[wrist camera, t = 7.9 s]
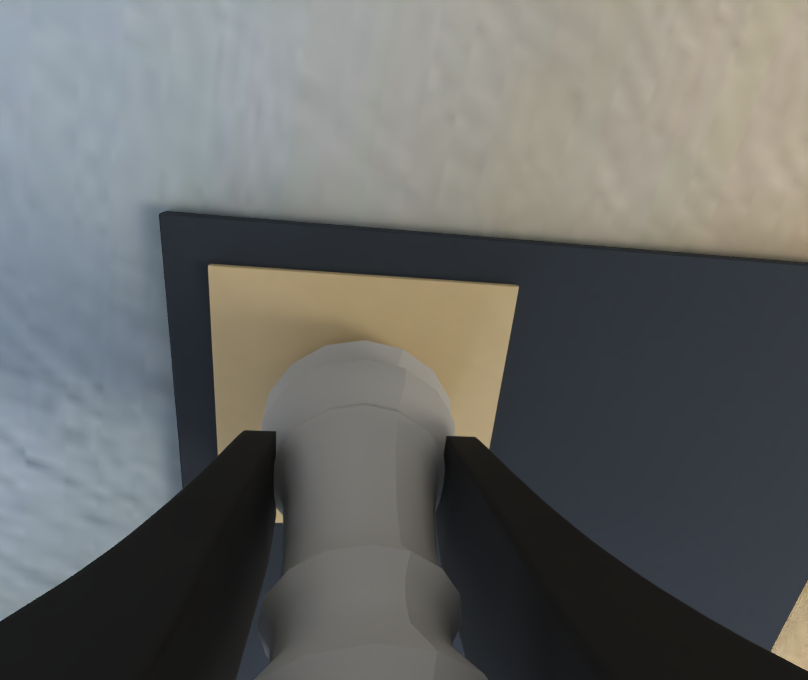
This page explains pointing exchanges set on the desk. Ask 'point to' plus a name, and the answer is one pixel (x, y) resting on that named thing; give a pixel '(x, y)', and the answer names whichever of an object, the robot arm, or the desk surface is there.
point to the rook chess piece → (360, 521)
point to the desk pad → (535, 382)
